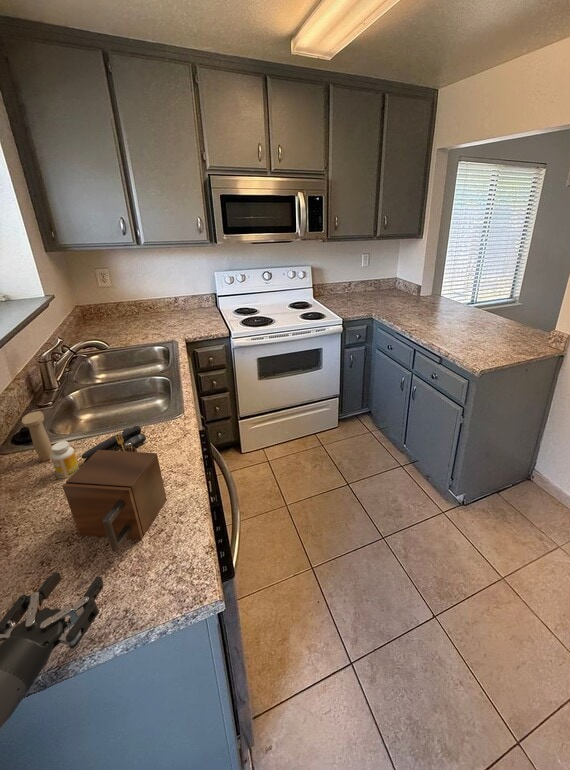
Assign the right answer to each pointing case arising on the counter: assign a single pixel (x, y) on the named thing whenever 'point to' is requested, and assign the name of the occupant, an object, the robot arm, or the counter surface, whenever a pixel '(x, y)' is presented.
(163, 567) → the counter surface
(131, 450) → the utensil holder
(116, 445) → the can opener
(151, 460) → the cupboard
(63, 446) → the supplement bottle
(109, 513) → the cupboard door
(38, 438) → the handle
